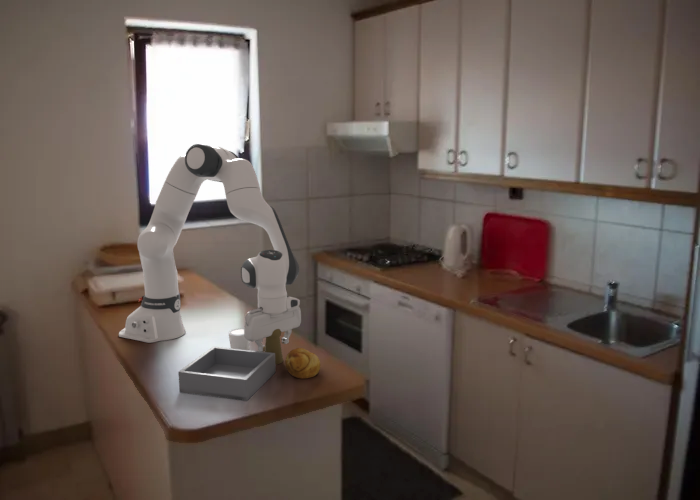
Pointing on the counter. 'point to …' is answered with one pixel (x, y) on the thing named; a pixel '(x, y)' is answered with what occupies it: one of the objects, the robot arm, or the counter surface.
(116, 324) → the counter surface
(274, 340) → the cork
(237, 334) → the shot glass
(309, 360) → the bread roll
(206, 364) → the bin
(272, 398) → the counter surface
